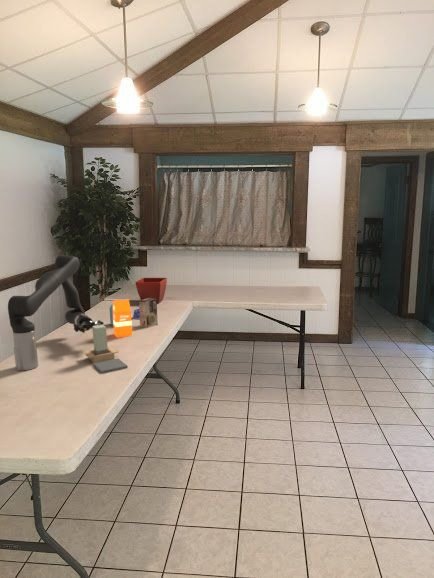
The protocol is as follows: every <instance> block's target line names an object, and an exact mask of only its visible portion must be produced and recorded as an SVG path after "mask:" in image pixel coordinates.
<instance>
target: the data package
mask: <svg viewBox="0 0 434 578" xmlns="http://www.w3.org/2000/svg"><path fill="white" fill-rule="evenodd" d="M109 317H110V318H109V319H110V325H112V326H114V324H113V304H111V305H110V306H109Z"/></svg>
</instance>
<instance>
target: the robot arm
mask: <svg viewBox="0 0 434 578" xmlns="http://www.w3.org/2000/svg"><path fill="white" fill-rule="evenodd" d="M54 264H55V269H52V270H49V271H47V272H45V273H43V274H42V275H41V276H39V278H38V279H37V280H36V282H35V285H34V288H35V291H34V292H32V294H29V295H12V296H11V297H10V298H9V299H8V302H7V313H8V318H9V324H10V327H11V329H12V336H13V353H14V354H13V355H14V363H15V368H16V370H17V371H18V370H19V371H30V370H33V369H36V368H38V367H39V360H38V359H39V358H38V349H37V340H36V339H37V337H36V330H35V329H36V328H35V324H34V323H33V322H32V321H30V320H28V319H27V318H26V317H32V316H33V315H34V314H35V313H36V312H37V311H38V310H39V309H40V307H41V305H43V303H44V302H45V301H46V300H47V299H48V298H49V297H50V296H51V295H52V294H53V293H54V292H55V291H56V290H57V289H58V288H59V287H60V286H62V289H63V293H64V297H65V301H66V306H67V308H69V310H68V311H66V312H65V320H66V322H67V323H68V324H71V325H73V326H72V327H73V330H74V332H75V333H77V332H81V333H82V334H83V333H86V331H89V330H93V327H92V326H96V325H104V322H103V321H102V320H97V321H93V319H92V318H91V317H90V316H88V315H86V312H85V310H84V308H83V307H82V304H81V302H80V295H79V291H78V289H77V288H76V286H75V285H74V283H73V282H72V280H71V279H70V278H71V277H72V276H73V275H75V274H76V273H78V271H79V268H80V259H79V258H78V257H77V256H74V255H65V254H64V255H63V254H62V255H57V257H56V258H55V261H54Z"/></svg>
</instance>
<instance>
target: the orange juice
mask: <svg viewBox="0 0 434 578" xmlns="http://www.w3.org/2000/svg"><path fill="white" fill-rule="evenodd" d="M112 301H113V302H112V305H113V324H114V325H113V334H114V336H115V338H122V337H129V336H130V337H132V336H133V321H132V318H131V316H132V310H131V305H130V299H129V298H128V299H121V300H119V299H118V300H112Z"/></svg>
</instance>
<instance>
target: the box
mask: <svg viewBox="0 0 434 578" xmlns="http://www.w3.org/2000/svg"><path fill="white" fill-rule="evenodd" d="M92 327H93V329H92V339H93V340H92V341H93V350H94V355H101V354H106V353H108V348H107V347H108V335H107V326H105V324H103V325H96V326H92Z"/></svg>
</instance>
